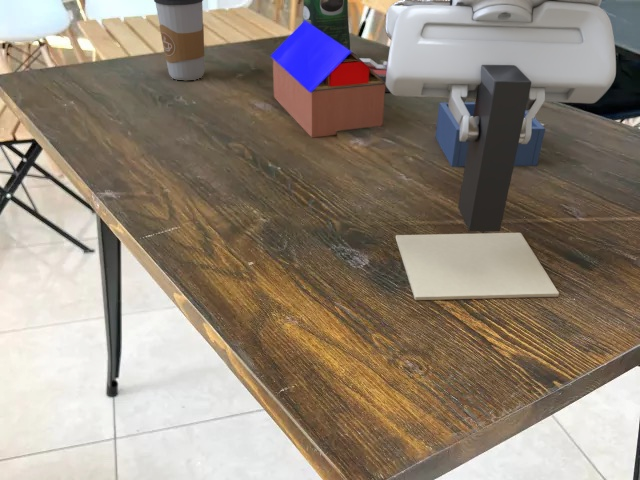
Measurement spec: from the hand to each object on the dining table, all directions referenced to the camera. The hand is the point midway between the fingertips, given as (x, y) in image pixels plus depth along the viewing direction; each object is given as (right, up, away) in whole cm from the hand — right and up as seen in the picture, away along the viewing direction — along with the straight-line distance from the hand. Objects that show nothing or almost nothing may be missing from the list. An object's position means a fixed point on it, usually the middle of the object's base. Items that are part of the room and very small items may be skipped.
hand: (495, 140), depth 58 cm
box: (+7, +7, +32) cm, 34 cm away
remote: (0, -6, +5) cm, 8 cm away
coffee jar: (-15, +35, +71) cm, 80 cm away
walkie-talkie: (-10, +26, +58) cm, 64 cm away
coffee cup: (-40, +28, +60) cm, 78 cm away
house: (-15, +17, +46) cm, 51 cm away
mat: (0, -11, +9) cm, 14 cm away
